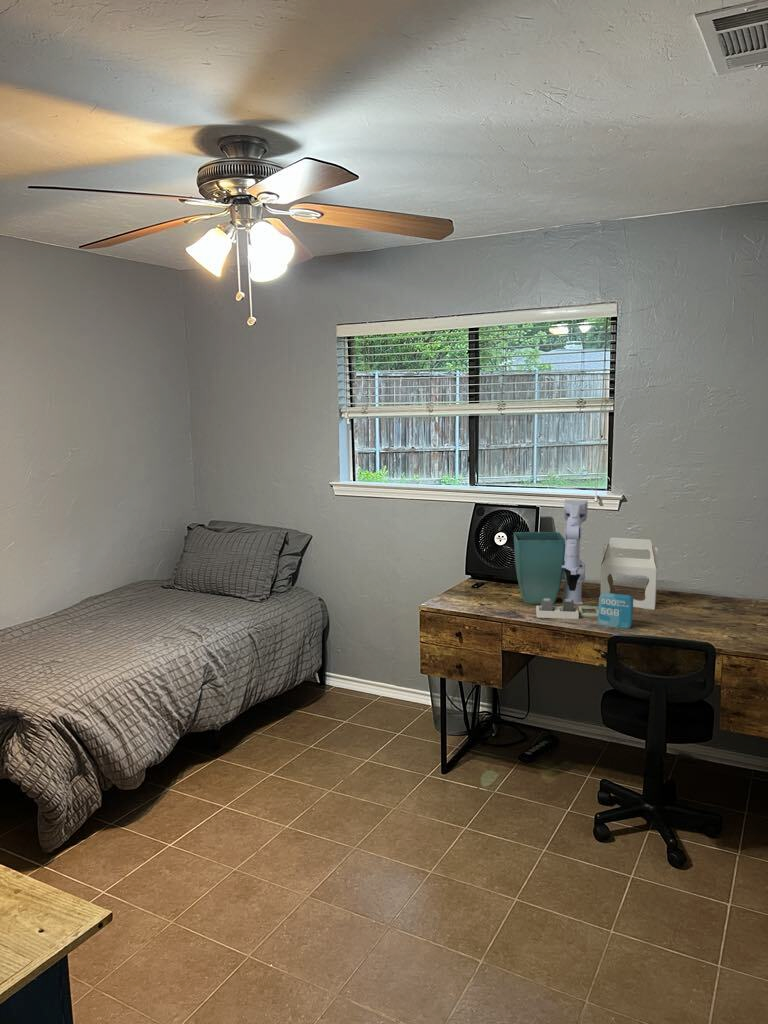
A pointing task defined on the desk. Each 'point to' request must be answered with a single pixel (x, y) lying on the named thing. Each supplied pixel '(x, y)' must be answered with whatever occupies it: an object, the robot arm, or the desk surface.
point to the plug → (568, 605)
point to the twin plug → (546, 604)
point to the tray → (588, 608)
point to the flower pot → (539, 564)
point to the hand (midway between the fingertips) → (571, 588)
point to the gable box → (631, 570)
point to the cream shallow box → (557, 613)
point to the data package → (615, 610)
